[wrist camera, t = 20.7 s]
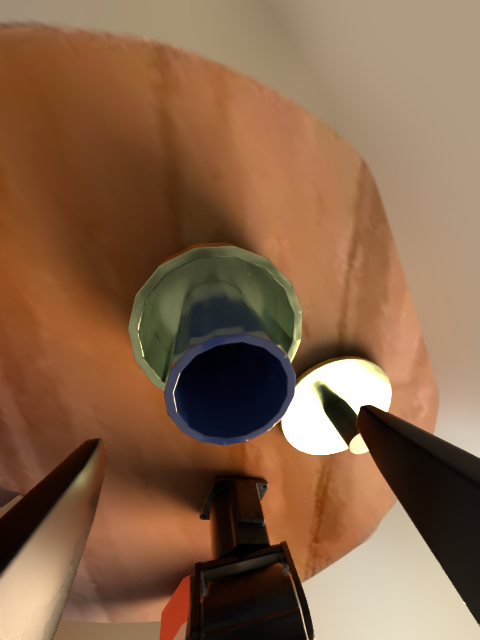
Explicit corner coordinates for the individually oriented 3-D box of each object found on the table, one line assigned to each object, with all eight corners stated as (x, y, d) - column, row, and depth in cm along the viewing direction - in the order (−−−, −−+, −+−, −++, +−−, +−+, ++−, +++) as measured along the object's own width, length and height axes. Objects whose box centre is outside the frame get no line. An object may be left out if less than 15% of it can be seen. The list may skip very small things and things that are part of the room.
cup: (236, 353, 21) (267, 451, 12) (172, 337, 19) (150, 435, 10) (259, 294, 19) (316, 353, 10) (191, 272, 18) (186, 317, 9)
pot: (253, 382, 23) (266, 416, 19) (130, 356, 20) (113, 389, 16) (301, 270, 20) (329, 281, 16) (164, 219, 17) (154, 215, 13)
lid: (350, 451, 29) (381, 495, 24) (260, 438, 26) (275, 486, 21) (403, 367, 25) (451, 399, 21) (307, 339, 22) (337, 370, 17)
